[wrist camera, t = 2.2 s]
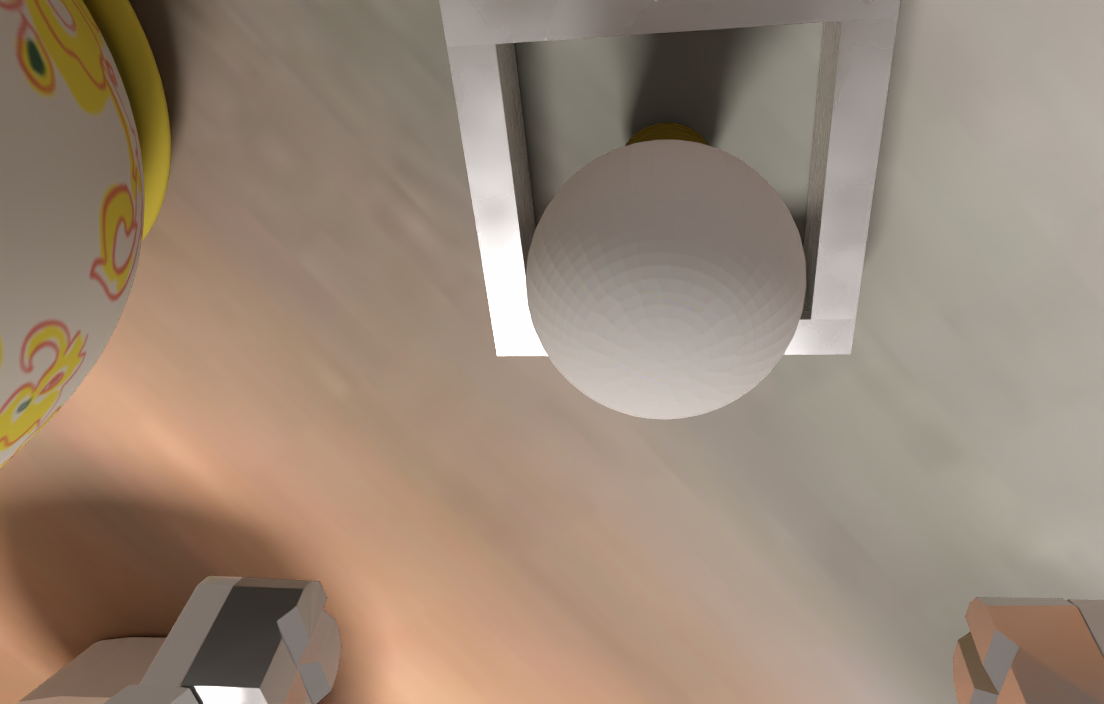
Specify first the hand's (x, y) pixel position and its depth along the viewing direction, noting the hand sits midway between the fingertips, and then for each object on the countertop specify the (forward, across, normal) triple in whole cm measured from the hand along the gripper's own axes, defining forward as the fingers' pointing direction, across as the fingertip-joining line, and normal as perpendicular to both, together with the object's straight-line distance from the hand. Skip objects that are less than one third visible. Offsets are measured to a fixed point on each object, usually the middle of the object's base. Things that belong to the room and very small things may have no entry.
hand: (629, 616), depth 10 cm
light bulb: (+16, -1, 0) cm, 16 cm away
